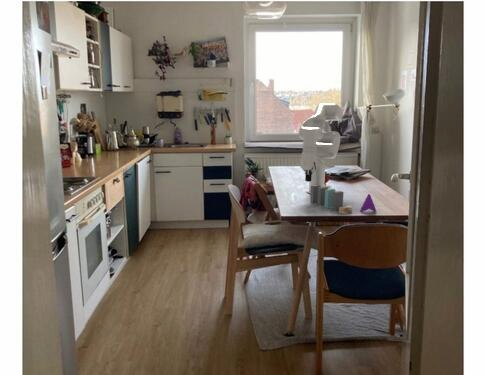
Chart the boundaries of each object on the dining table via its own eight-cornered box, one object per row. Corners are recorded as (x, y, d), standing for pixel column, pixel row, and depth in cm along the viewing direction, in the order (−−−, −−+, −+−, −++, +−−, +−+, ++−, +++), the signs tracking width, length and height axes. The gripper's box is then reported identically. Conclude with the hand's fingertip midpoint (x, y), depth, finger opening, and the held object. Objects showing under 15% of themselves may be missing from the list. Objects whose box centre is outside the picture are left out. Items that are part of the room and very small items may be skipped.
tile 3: (332, 209, 237) (333, 191, 235) (339, 208, 240) (340, 190, 238) (335, 211, 235) (336, 192, 233) (342, 209, 237) (343, 191, 235)
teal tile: (324, 207, 243) (325, 189, 241) (331, 206, 245) (332, 188, 243) (327, 208, 241) (328, 190, 239) (334, 207, 243) (335, 189, 241)
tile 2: (317, 204, 248) (317, 187, 246) (324, 203, 251) (325, 186, 249) (320, 205, 246) (320, 188, 244) (327, 204, 249) (327, 187, 247)
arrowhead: (366, 219, 235) (380, 206, 235) (368, 220, 234) (381, 206, 234) (355, 207, 233) (368, 193, 233) (356, 207, 231) (369, 194, 231)
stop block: (347, 211, 235) (348, 205, 234) (351, 212, 232) (351, 207, 231) (338, 212, 232) (339, 207, 231) (342, 213, 229) (343, 208, 229)
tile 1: (310, 202, 254) (310, 185, 252) (317, 201, 256) (317, 184, 254) (313, 203, 252) (313, 186, 250) (320, 202, 254) (320, 185, 252)
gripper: (296, 148, 259) (295, 179, 262) (312, 151, 246) (310, 183, 249) (307, 148, 262) (305, 179, 265) (322, 150, 249) (321, 182, 252)
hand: (308, 181), depth 257 cm, fingers closed
